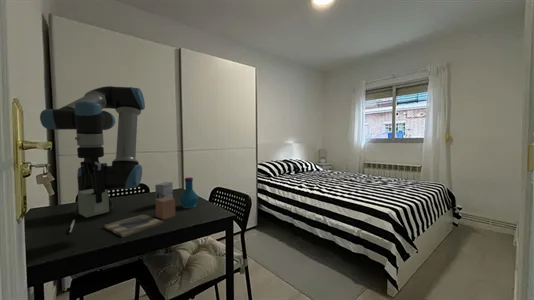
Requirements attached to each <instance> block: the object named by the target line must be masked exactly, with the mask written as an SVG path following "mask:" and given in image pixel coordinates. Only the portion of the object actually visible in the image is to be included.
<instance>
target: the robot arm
mask: <svg viewBox="0 0 534 300" xmlns="http://www.w3.org/2000/svg"><path fill="white" fill-rule="evenodd" d="M145 107H146V105H145V96H144V94H143V92H142V90H141V88H138V87H132V86H131V87H130V86H129V87H128V86H112V85H111V86H110V85H108V86H102V87H98V88H95V89H91V90H89V91H87V92H86V93H84V95H83V96H82V97H81V98H78V99H76V100H74V101H73V102H72V101H71V102H69V104H66V105H64V106H62V107H60V108H56V109H54V108H48V109H47V108H46V109H43V110H42V111H40V114H39V121H40V124H41V125H42V127H43V128H44V129H47V130H56V131H58V130H63V131H64V130H73V131H74V130H75V131H76V136H75V137H74V140H76V145H77V146H78V147H77V158H79V159H83V161H80V163H79V164H80V167H79V168H78V169H77V176H76V177H77V178H76V179H77V190H78V191H83V190H89V189H93V191H94V193H91V194H92V195H93V211H94V213H96V212H100V211H103V195H102V193H103V192H105V189H106V190H108V191H109V190H129V189H136V188H137V187H138V186H139V185H140V183H141V180H142V177H143V166H142V165H141V164H139V163H140V162H139V161H138V160H137V159H136V153H137V137H138V136H137V133H138V130H137V129H138V116H139V115H141V112H142V111H143V110H145ZM103 109H113V110H115V112H116V113H117V114H118V119H117V121H118V122H117V136H116V138H117V139H116V153H115V158H114V159H113V160H112V161H111V165H108V163H107V162H101V163H100V158H103V157H104V156H105V151H104V147H103V145H105V144H104V132H103V131H107V130H110V129H112V128H113V127H114V126H115V124H116V118H115V116H114V115H113V114H112V113H111V112H109V111H107V110H103ZM78 191H77V192H78ZM108 197H109V212H111V211H112V210H114V205H113V204H114V203H113V202H112V200H111V197H110V195H109V194H108ZM73 212H74V216H77V217H84V216H83V215H81V214H79V207H78V200H77V201H76V204H75V207H74V211H73ZM102 214H104V213H102ZM102 214H101V215H102Z"/></svg>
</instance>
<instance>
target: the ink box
mask: <svg viewBox="0 0 534 300" xmlns="http://www.w3.org/2000/svg"><path fill="white" fill-rule="evenodd" d="M173 188H174V186H173V181H164V182H160V183H157V184H155V190H154V191H155V200H156V199H161V198H165V197H170V198H174V194H173V193H174V191H173Z"/></svg>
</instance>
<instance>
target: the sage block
mask: <svg viewBox="0 0 534 300" xmlns="http://www.w3.org/2000/svg"><path fill="white" fill-rule="evenodd" d="M91 193H94V191H93V189H89V190H83V191H77V201H78V207H79V214H81V215H83V216H82V217H85V218H90V217H93V216H97V215H102V213H103V214H106V213H109V212H110V211H109V197H110V196H109V197H108V195H109V189H108V190H106V189H105V192H103V193H102V195H103V211H100V212H96V213H94V211H93V195H92V194H91Z"/></svg>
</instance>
